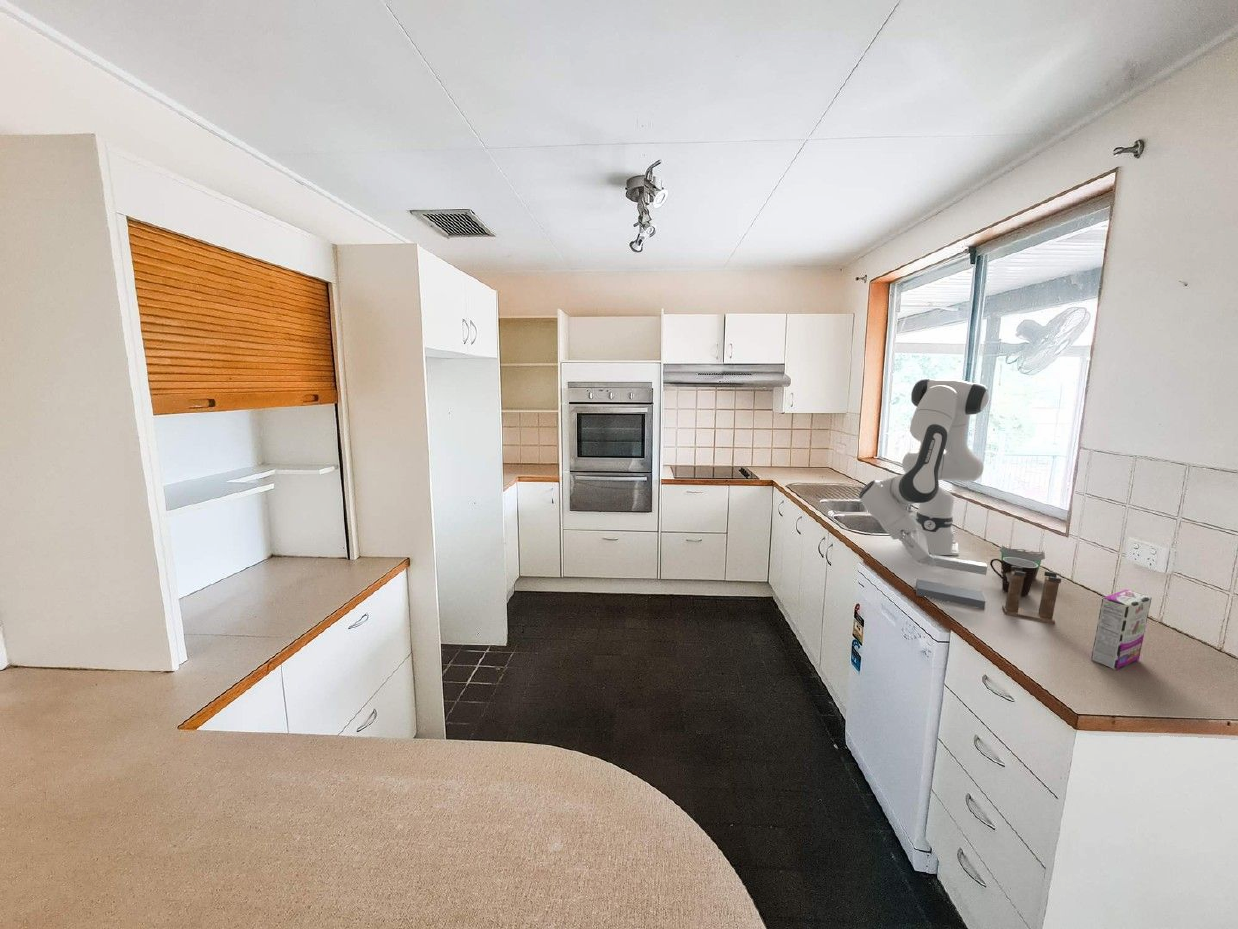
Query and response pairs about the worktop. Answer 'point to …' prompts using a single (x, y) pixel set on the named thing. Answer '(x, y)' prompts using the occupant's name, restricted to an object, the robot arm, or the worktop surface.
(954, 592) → the board
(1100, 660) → the candy bar box
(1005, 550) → the food container
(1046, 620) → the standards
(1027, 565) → the coffee mug
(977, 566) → the rail
